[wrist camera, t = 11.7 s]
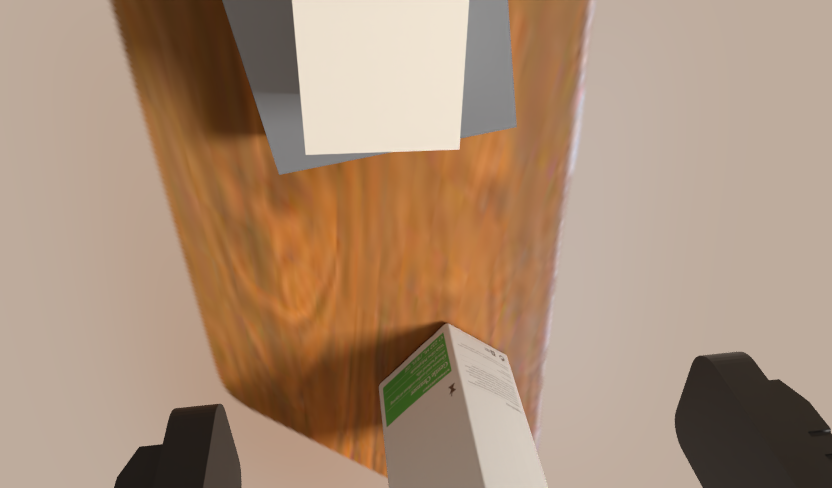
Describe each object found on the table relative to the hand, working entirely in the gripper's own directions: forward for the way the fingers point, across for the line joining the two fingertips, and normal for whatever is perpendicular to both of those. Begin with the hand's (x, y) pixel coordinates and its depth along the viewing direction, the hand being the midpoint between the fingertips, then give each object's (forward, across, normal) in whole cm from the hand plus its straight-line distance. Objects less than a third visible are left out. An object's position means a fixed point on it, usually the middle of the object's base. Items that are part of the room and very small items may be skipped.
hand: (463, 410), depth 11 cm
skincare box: (+26, -4, +27) cm, 38 cm away
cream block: (+21, 0, 0) cm, 21 cm away
